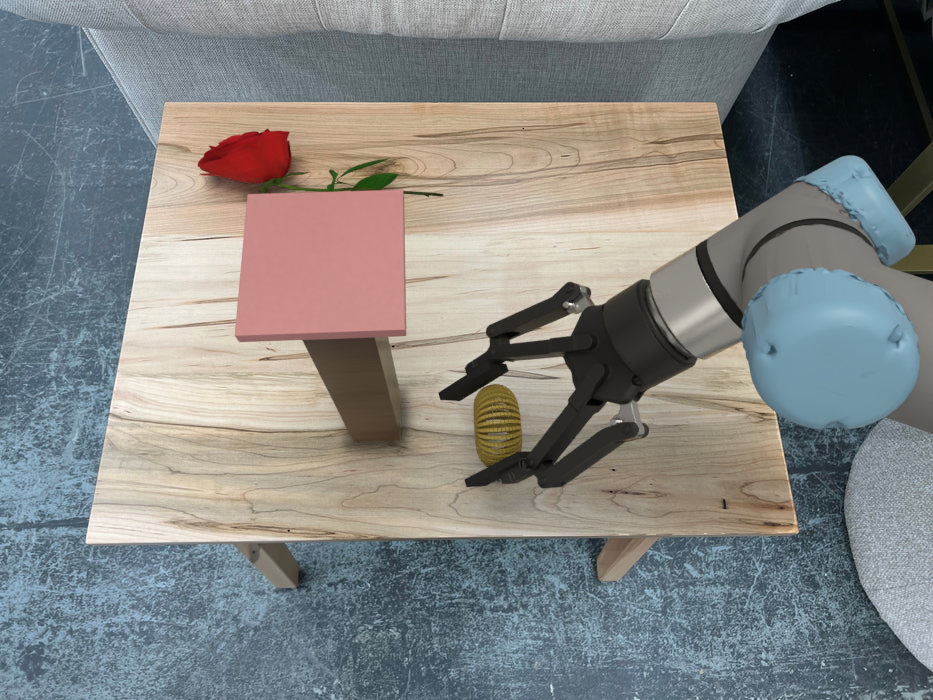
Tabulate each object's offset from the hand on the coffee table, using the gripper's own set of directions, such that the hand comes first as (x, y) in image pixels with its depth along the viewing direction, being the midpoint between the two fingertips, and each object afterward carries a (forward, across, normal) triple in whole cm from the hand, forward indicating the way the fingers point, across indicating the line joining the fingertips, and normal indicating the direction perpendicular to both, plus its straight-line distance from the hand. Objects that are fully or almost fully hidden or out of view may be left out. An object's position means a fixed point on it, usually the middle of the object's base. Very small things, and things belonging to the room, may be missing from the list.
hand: (462, 438), depth 63 cm
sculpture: (0, 0, -5) cm, 5 cm away
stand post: (+11, +7, -1) cm, 13 cm away
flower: (+10, +37, -2) cm, 38 cm away
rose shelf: (-11, +7, +22) cm, 26 cm away
